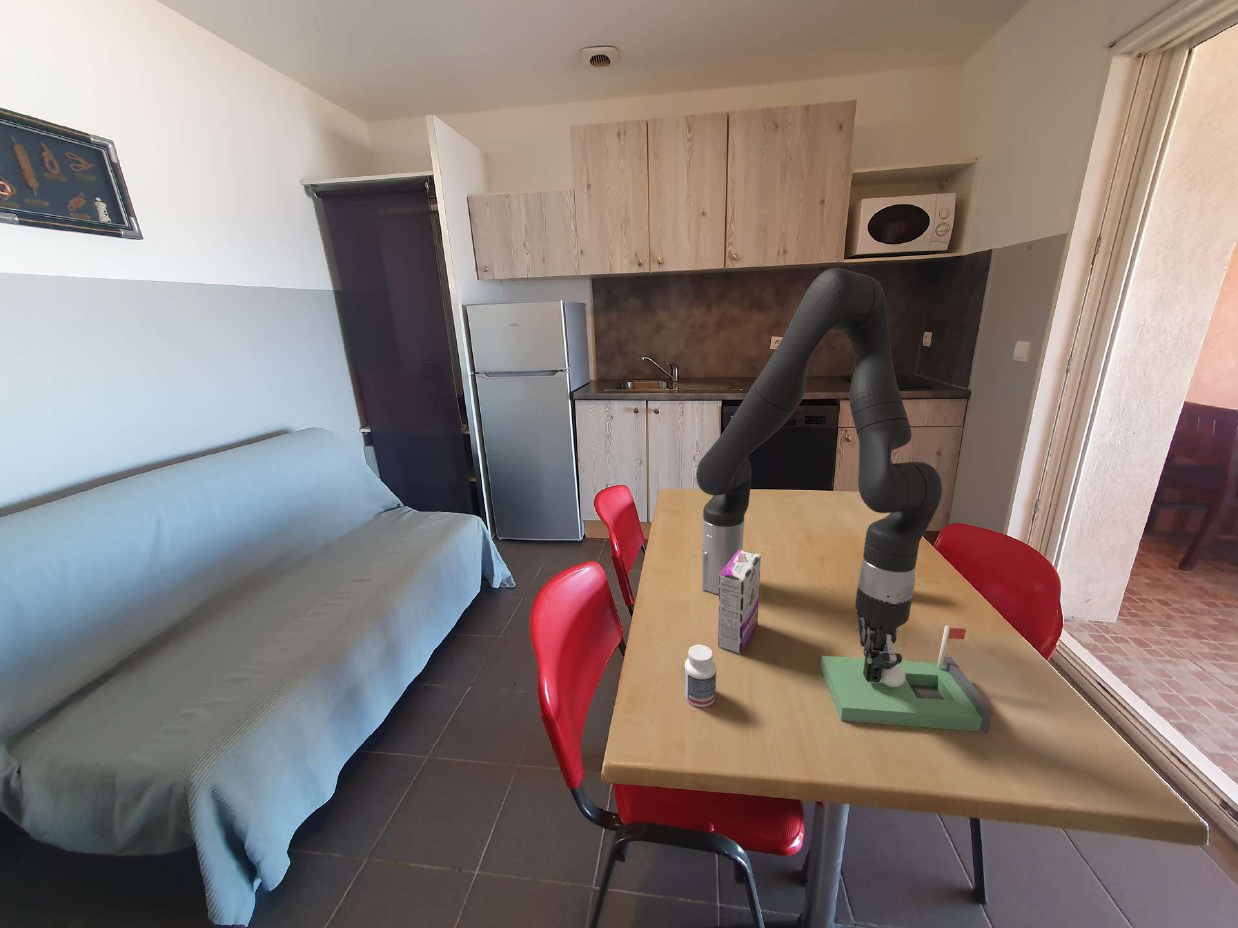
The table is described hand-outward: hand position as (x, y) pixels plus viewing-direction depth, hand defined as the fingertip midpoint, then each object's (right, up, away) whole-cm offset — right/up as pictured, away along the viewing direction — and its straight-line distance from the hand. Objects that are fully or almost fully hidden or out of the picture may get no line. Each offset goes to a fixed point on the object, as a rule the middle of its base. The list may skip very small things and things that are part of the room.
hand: (871, 678), depth 79 cm
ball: (+3, +1, 0) cm, 3 cm away
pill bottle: (-28, -4, +3) cm, 28 cm away
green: (+4, -3, +1) cm, 5 cm away
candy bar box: (-18, +1, +18) cm, 25 cm away
